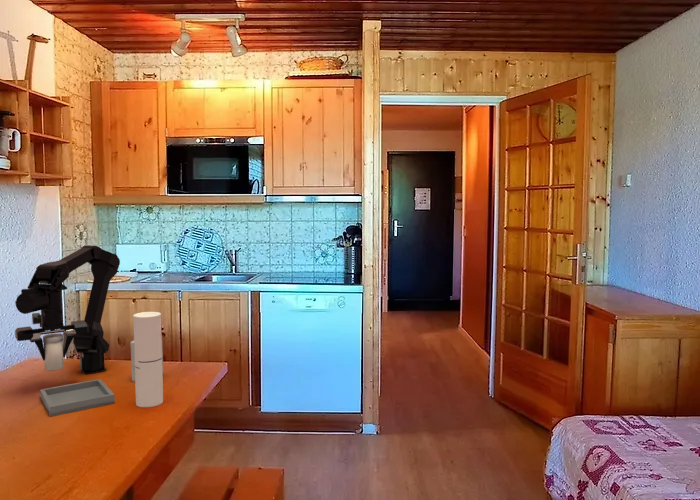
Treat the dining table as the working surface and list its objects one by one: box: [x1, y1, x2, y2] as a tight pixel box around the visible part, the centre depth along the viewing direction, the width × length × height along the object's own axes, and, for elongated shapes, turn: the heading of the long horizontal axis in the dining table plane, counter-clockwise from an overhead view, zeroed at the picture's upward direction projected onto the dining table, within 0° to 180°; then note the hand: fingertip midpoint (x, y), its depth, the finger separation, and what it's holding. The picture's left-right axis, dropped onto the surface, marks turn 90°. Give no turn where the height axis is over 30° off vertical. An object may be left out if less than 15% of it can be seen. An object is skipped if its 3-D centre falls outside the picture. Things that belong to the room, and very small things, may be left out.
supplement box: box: [129, 340, 164, 382], centre depth 176 cm, size 7×7×13 cm
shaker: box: [42, 333, 65, 372], centre depth 166 cm, size 5×5×10 cm
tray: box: [39, 378, 116, 417], centre depth 157 cm, size 16×16×2 cm
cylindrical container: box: [132, 311, 164, 408], centre depth 155 cm, size 7×7×25 cm
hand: (53, 358), depth 166 cm, fingers closed on shaker, 5 cm apart
